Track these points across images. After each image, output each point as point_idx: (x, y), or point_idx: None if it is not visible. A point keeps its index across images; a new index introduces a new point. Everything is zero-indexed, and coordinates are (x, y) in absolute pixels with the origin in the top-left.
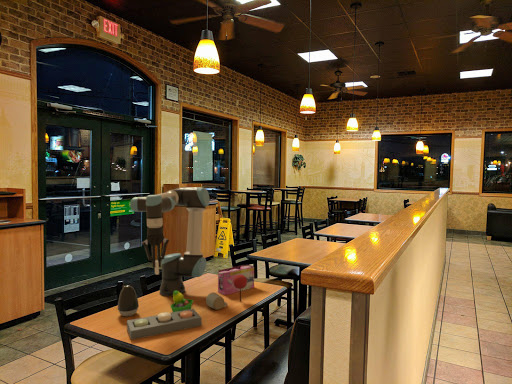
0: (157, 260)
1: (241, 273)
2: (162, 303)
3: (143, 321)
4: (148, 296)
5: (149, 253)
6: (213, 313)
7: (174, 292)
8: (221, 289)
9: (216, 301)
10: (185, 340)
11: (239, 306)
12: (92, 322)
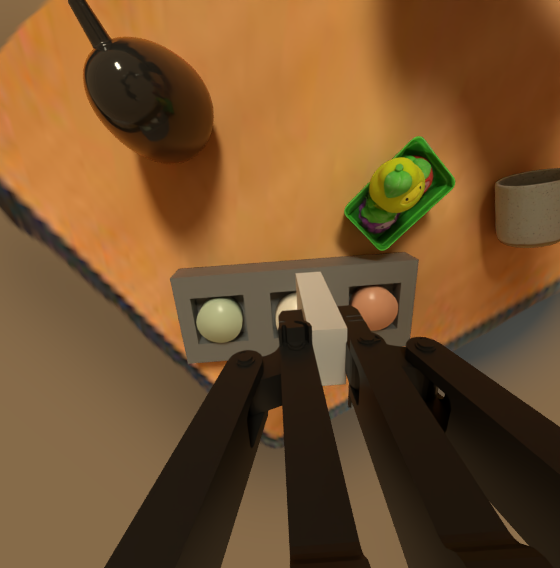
0: (344, 348)
1: None
2: (337, 21)
3: (226, 325)
4: None
5: (235, 501)
6: (474, 254)
7: (390, 188)
8: None
9: (525, 247)
10: (328, 395)
11: None
12: (34, 146)
